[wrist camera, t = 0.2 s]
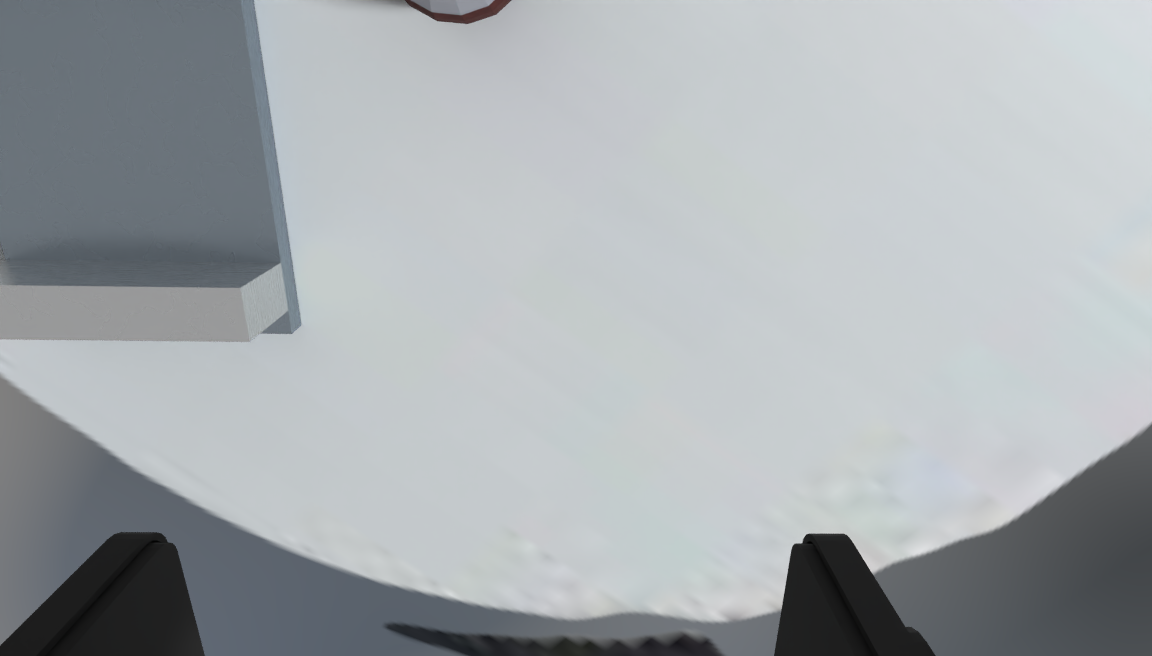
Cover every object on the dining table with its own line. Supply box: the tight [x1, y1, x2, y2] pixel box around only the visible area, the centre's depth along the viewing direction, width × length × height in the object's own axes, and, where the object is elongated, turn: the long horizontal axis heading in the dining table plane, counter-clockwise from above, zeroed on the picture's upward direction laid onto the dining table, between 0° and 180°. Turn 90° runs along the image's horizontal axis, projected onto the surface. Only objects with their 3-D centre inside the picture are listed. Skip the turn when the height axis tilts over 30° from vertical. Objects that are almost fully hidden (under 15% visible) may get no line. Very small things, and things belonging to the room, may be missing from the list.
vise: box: [0, 0, 301, 342], centre depth 32 cm, size 30×16×6 cm, turn 179°
